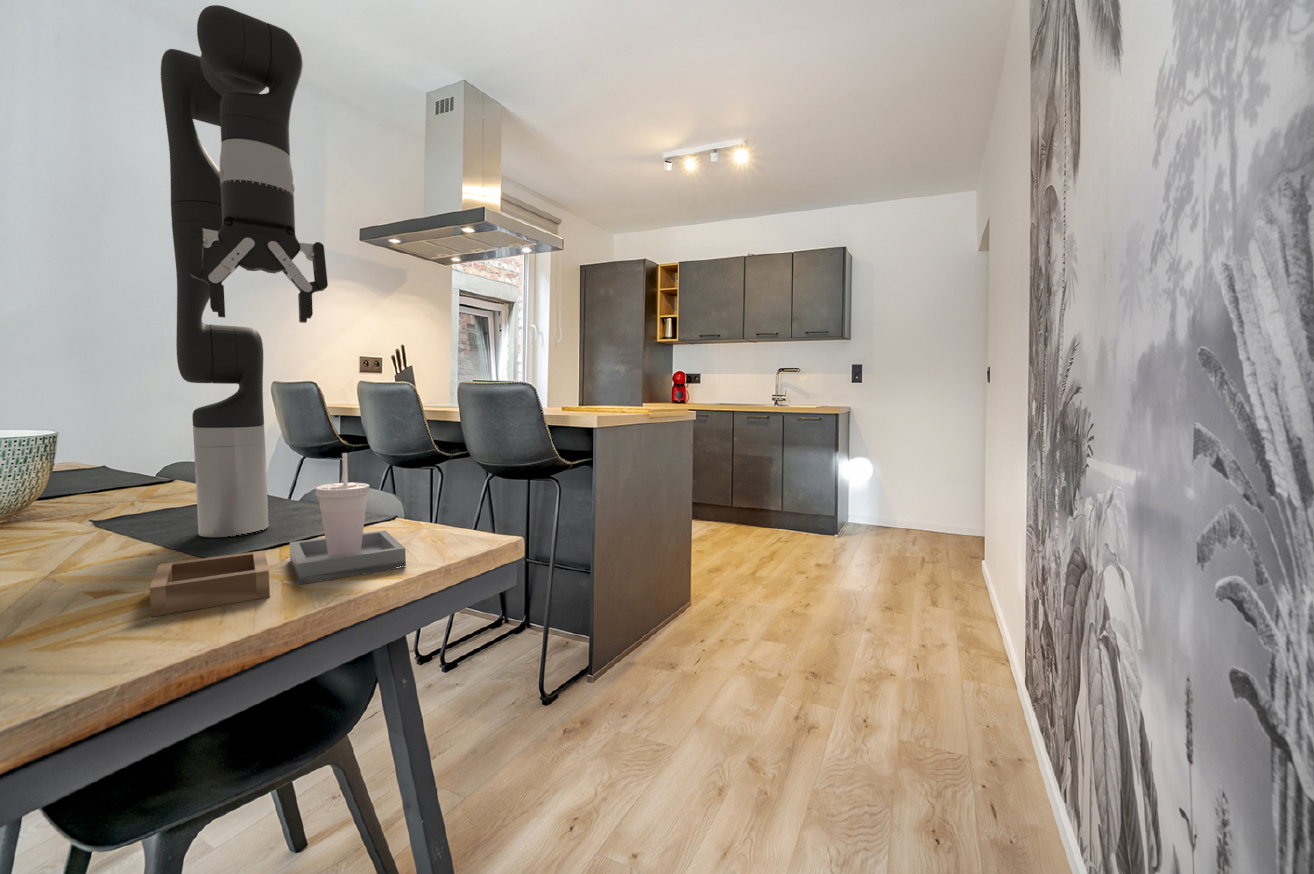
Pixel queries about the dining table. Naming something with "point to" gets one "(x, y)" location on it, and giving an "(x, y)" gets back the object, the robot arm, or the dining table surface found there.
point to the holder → (209, 582)
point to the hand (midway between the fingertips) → (263, 319)
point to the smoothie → (343, 514)
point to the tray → (345, 558)
